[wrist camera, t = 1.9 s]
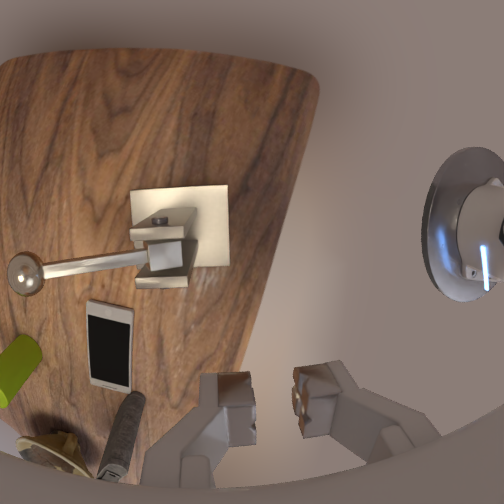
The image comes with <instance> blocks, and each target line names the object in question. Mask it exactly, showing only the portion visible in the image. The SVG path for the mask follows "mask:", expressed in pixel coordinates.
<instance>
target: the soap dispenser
mask: <svg viewBox="0 0 504 504" xmlns="http://www.w3.org/2000/svg"><path fill="white" fill-rule="evenodd" d="M41 360H42V352H41V349H40V347H39V346H38V344H37V343H36V342H35V341H34V340H33V339H32V338H31V337H29V336H27V335H19V336H18V337H17V338H16V339H15V340H14V341H13V342H12V343H11V344H10V345H9V346H8V347H7V348H6V349H5V350H4V351H3V352H2V353H1V354H0V408H6V407H7V406H8V405H9V403H10V402H11V400H12V399H13V398H14V396H15V395H16V393H17V392H18V391H19V389H20V388H21V387H22V385H23V384H24V383H25V381H26V380H27V379H28V377H29V376H30V375H31V373H32V372H33V371H34V369H35V368H36V367H37V366H38V364H39V363H40V362H41Z"/></svg>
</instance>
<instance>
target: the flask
mask: <svg viewBox="0 0 504 504" xmlns="http://www.w3.org/2000/svg"><path fill="white" fill-rule="evenodd" d="M144 403H145V397H144V395H143V394H141V393H140V392H136V391H133V392H131V393H130V394H129V395H128V396H127V397H126V398H125V400H124V401H123V403H122V404H121V406H120V408H119V410H118V412H117V415H116V417H115V420H114V423H113V426H112V429H111V432H110V435H109V438H108V441H107V444H106V448H105V451H104V454H103V457H102V460H101V464H100V467H99V470H98V474H97V477H96V479H100V480H105V481H111V482H119V481H120V480H121V479H122V478H123V477H124V476H125V475H127V474H128V470H129V465H130V461H131V456H132V452H133V448H134V443H135V439H136V435H137V431H138V427H139V423H140V419H141V415H142V411H143V407H144Z"/></svg>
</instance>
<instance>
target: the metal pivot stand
mask: <svg viewBox="0 0 504 504" xmlns="http://www.w3.org/2000/svg"><path fill="white" fill-rule="evenodd" d="M130 199H131V214H132V227H131V228H130V229H129V232H130V241H134V248H135V249H140V248H144V247H143V240H161V239H179V240H181V246H182V260H183V266H182V267H176V268H170V269H164V270H157V271H150V270H149V268H148V267H147V266H146V264H138V265H136V266H137V269H141V270H140V272H139V273H138V274H137V276H136V277H135V284H136V289H154V288H160V289H169V288H187V287H188V286H189V282H190V278H191V274H192V270H193V267H214V266H230V246H229V214H228V185H202V186H182V187H166V188H152V189H139V190H130Z"/></svg>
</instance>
